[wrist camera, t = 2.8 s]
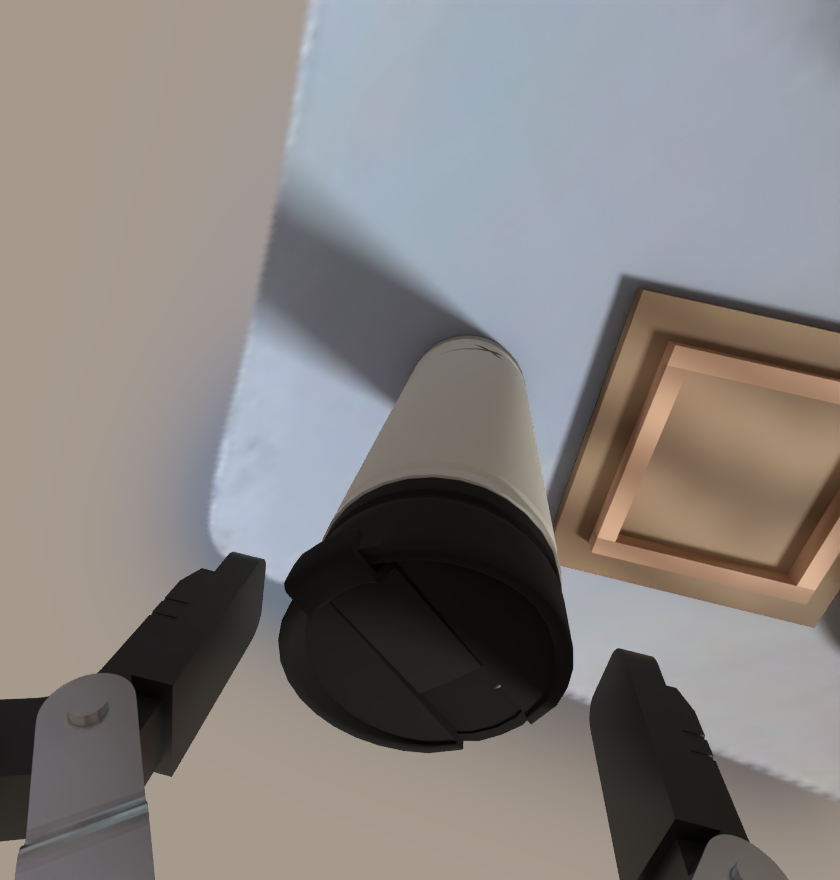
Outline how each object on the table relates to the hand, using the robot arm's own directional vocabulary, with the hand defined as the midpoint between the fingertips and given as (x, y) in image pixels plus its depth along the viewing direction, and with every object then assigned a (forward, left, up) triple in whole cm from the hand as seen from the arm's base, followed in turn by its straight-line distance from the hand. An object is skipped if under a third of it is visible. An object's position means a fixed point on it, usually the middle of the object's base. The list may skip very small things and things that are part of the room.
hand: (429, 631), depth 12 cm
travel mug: (0, 0, -19) cm, 19 cm away
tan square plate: (+1, +15, -18) cm, 24 cm away
